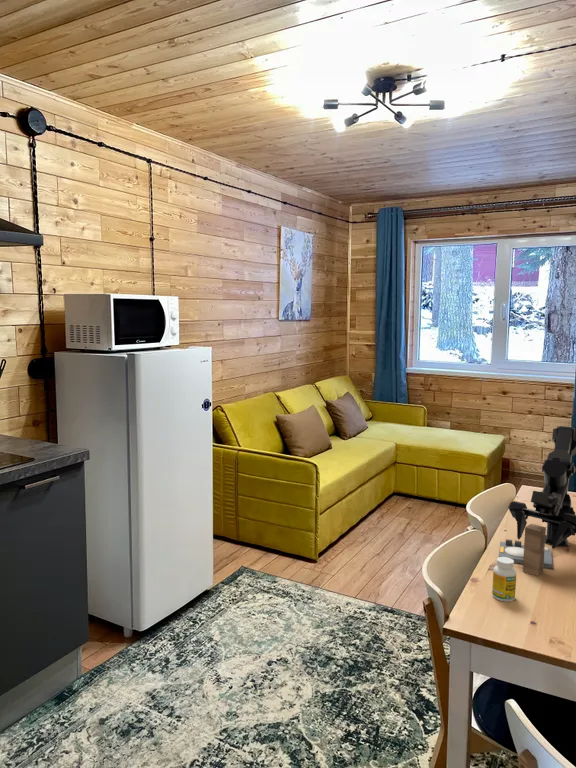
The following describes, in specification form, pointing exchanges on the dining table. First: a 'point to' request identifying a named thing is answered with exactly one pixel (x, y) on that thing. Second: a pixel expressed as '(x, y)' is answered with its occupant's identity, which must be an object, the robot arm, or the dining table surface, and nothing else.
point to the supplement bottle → (504, 580)
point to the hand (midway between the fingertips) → (535, 543)
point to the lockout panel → (521, 552)
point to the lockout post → (534, 549)
